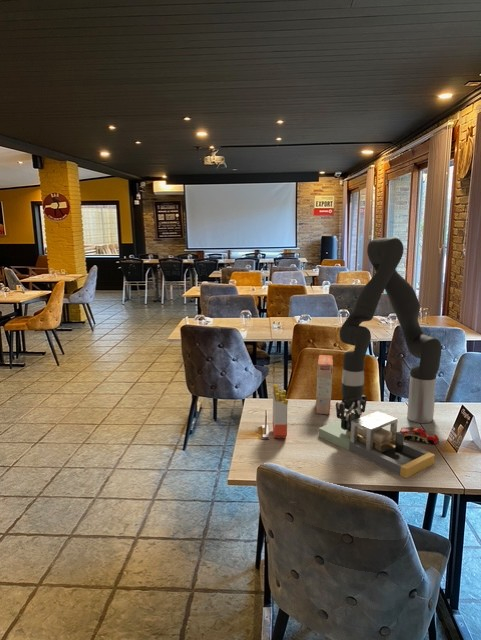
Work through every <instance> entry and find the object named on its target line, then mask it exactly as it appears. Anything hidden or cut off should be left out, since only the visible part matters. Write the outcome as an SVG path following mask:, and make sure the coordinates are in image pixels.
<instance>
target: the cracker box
mask: <svg viewBox="0 0 481 640" xmlns="http://www.w3.org/2000/svg"><path fill="white" fill-rule="evenodd" d="M333 362H334V361H333V355H328V354H327V355H324V354H319V355H318V361H317V372H316V395H315V396H316V397H315V414H319V415H326V416H327V415H328V416H329V415H331V413H330V412H331V403H332V402H331V401H332V387H333V385H332V384H333V369H334V366H333V365H334V364H333Z"/></svg>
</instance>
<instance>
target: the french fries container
mask: <svg viewBox="0 0 481 640" xmlns="http://www.w3.org/2000/svg"><path fill="white" fill-rule="evenodd" d="M272 386H273V391H272V432H273V439H286V438H287V435H288V403H289V399H287V398H286V396H287V395H286V393H287V391H286V390H285V389H283V390H282V388H278V384H277V383H273V385H272Z"/></svg>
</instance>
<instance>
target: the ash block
mask: <svg viewBox="0 0 481 640" xmlns="http://www.w3.org/2000/svg"><path fill="white" fill-rule="evenodd" d="M357 434H360V435H362V436H364V437H366V438H367V430H365V429H362V428H360V427H358V429H357ZM390 439H392V432H390V430H387V429H385V428H384V427H382V428H380V429H377V430H375V431H374V436H373V441H375V442H378V443H380V444H381V443H383V442H386V441H388V440H390Z"/></svg>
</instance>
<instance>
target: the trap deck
mask: <svg viewBox="0 0 481 640" xmlns="http://www.w3.org/2000/svg"><path fill="white" fill-rule="evenodd" d="M318 436H319V437H320V438H322V439H324V440H326V441H328V442H330V443H332V444H334V445H336V446H338V447H341V448H343V449H345V450H347V451H349V452H351V453H353V454H356V455H357V456H359V457H360V458H364V459H365V458H366V460H367V459H368V461H369V460H370V461H369V462H371V461H372V463H373V462H374V464H376V465H378V466H380V467H382V468H384V469H386V470H388V471H390V472H393V473H394V474H396V475H398V476H401V477H402V476H403V477H402V478H404V477H405V478H404V479H407V478H409V477H411V476H413V475H415V474H417V473H420V471H422V470H425V469H426V468H428V467H431V466H432V465H434V464H435V457H436V455H435V454H434V453H431V452H430V451H427V450H425V449H422V448H420V447H417V446H415V445H412V444H410V443H409V442H405V441H404V443H403V452H402V453H398V452H396V451H395V450H393V449H390V448H387V449H385V450H383V451H378V450H376V449H374V448H373V450H371V451H369V450H367V449H366V445H365V444H363V443H361V442H359V441H357V442H356V443H352V442H350V437H348V430H344V429H342V428H341V419H339V420H337V421H335V422H334V421H333V422H332V423H329V424H326V425H323V426H321V427H318Z"/></svg>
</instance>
